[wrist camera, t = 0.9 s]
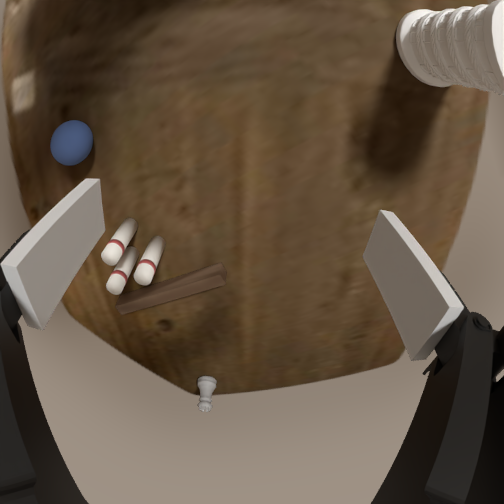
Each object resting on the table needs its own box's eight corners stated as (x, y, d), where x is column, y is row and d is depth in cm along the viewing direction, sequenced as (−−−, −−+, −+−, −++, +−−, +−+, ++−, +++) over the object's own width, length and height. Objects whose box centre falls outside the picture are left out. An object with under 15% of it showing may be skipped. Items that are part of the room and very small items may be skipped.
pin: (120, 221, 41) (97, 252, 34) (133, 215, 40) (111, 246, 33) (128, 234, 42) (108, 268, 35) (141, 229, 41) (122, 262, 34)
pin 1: (122, 249, 43) (102, 283, 36) (134, 244, 43) (115, 278, 36) (130, 261, 45) (112, 296, 38) (142, 256, 44) (125, 292, 37)
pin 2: (147, 238, 42) (129, 273, 35) (160, 233, 42) (145, 267, 35) (155, 251, 44) (140, 287, 37) (168, 246, 43) (155, 282, 36)
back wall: (120, 295, 49) (115, 306, 46) (221, 262, 45) (220, 274, 42) (126, 303, 50) (121, 314, 47) (226, 272, 46) (225, 284, 43)
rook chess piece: (214, 374, 62) (212, 405, 55) (218, 384, 64) (217, 413, 57) (195, 375, 62) (191, 405, 55) (200, 385, 64) (197, 413, 58)
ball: (59, 130, 32) (35, 141, 27) (89, 108, 31) (66, 116, 26) (76, 164, 35) (55, 179, 30) (107, 145, 34) (87, 158, 29)
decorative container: (470, 76, 28) (561, 100, 13) (415, 95, 31) (509, 124, 16) (442, 5, 22) (532, -3, 7) (381, 18, 25) (469, -4, 10)
